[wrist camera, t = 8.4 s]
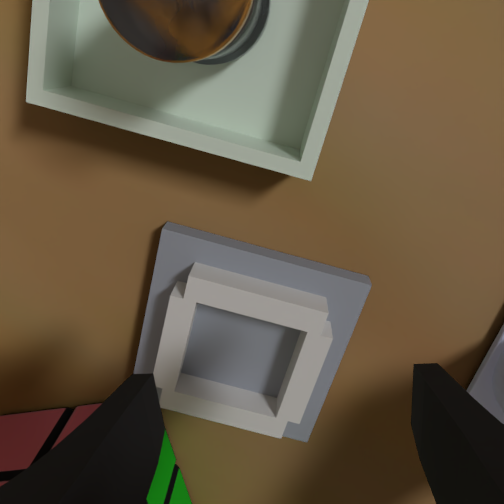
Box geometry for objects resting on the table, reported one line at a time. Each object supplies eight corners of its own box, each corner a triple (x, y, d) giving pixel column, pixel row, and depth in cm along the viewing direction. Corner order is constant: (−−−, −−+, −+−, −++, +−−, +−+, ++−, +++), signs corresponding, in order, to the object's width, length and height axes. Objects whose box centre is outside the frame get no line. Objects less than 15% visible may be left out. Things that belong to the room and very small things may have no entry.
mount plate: (368, 276, 23) (377, 301, 21) (306, 429, 27) (308, 464, 24) (167, 221, 22) (153, 240, 20) (134, 384, 26) (119, 415, 24)
